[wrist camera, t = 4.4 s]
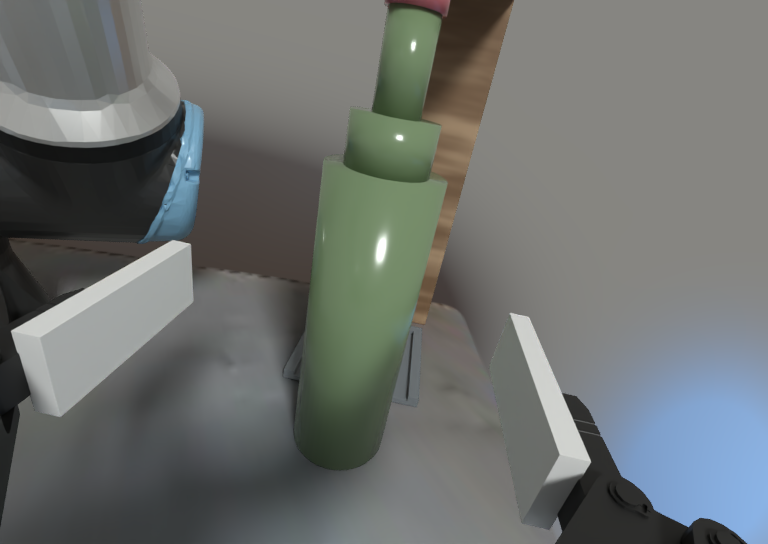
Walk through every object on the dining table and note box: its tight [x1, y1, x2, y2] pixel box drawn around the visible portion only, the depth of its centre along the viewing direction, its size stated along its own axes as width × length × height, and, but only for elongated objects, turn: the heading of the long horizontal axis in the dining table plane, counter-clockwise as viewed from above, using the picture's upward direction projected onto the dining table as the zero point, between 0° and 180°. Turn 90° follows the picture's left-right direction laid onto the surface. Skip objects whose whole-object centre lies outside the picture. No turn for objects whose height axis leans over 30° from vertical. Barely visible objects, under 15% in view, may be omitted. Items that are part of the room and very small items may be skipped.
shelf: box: [412, 0, 514, 325], centre depth 36 cm, size 17×14×37 cm
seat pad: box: [283, 326, 422, 407], centre depth 42 cm, size 12×13×1 cm
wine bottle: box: [294, 0, 450, 470], centre depth 26 cm, size 7×7×31 cm
